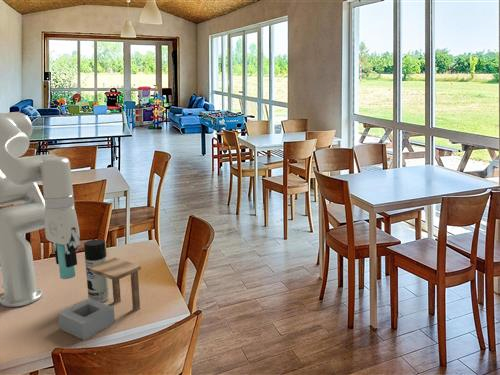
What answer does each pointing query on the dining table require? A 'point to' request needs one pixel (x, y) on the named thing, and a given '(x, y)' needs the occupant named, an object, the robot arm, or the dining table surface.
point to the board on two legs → (116, 271)
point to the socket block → (86, 318)
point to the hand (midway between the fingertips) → (66, 263)
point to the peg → (64, 263)
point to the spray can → (95, 282)
